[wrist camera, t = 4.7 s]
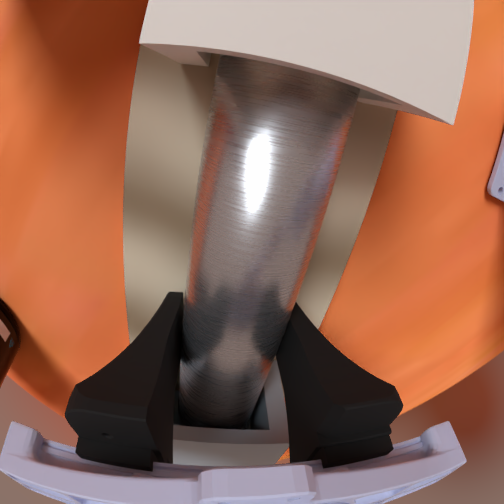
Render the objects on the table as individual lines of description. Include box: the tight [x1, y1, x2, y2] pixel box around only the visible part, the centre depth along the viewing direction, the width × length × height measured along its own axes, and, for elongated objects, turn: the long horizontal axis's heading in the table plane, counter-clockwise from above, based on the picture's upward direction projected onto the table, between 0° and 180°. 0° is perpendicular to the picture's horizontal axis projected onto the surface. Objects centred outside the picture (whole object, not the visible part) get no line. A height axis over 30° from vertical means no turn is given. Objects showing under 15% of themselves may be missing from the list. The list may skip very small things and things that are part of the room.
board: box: [123, 44, 397, 398], centre depth 13 cm, size 27×10×1 cm, turn 169°
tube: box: [178, 54, 360, 430], centre depth 11 cm, size 19×4×4 cm, turn 169°
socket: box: [173, 360, 289, 466], centre depth 15 cm, size 5×7×5 cm
